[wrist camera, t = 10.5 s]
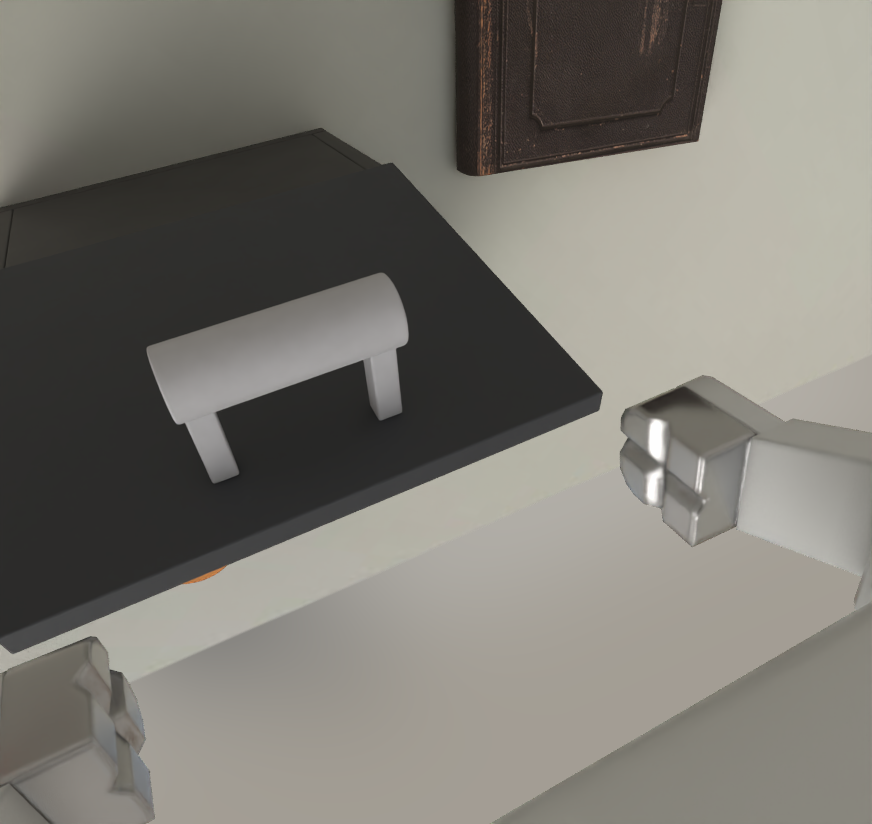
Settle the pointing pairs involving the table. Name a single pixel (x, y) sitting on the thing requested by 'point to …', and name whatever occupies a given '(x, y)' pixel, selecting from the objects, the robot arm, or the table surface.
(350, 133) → the table surface
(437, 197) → the table surface
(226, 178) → the dark grey storage bin
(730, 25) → the table surface
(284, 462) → the lid
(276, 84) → the table surface
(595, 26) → the hardcover book
